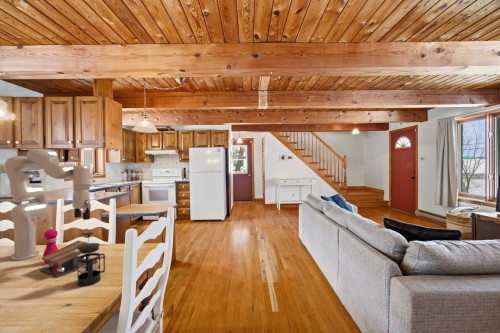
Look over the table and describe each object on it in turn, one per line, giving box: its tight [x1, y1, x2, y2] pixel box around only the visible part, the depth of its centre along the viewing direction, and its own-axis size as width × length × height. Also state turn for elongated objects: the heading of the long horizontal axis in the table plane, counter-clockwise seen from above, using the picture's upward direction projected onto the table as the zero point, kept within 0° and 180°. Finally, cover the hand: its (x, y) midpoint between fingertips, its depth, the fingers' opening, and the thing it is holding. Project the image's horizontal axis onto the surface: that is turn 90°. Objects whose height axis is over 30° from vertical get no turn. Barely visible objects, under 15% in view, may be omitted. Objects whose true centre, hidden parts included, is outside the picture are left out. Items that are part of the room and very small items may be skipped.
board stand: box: [39, 255, 99, 279], centre depth 131 cm, size 16×20×6 cm
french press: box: [76, 231, 106, 287], centre depth 115 cm, size 12×9×23 cm
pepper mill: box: [42, 226, 59, 265], centre depth 137 cm, size 7×7×20 cm
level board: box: [41, 240, 88, 265], centre depth 130 cm, size 15×18×2 cm
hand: (82, 218), depth 135 cm, fingers open, 9 cm apart
